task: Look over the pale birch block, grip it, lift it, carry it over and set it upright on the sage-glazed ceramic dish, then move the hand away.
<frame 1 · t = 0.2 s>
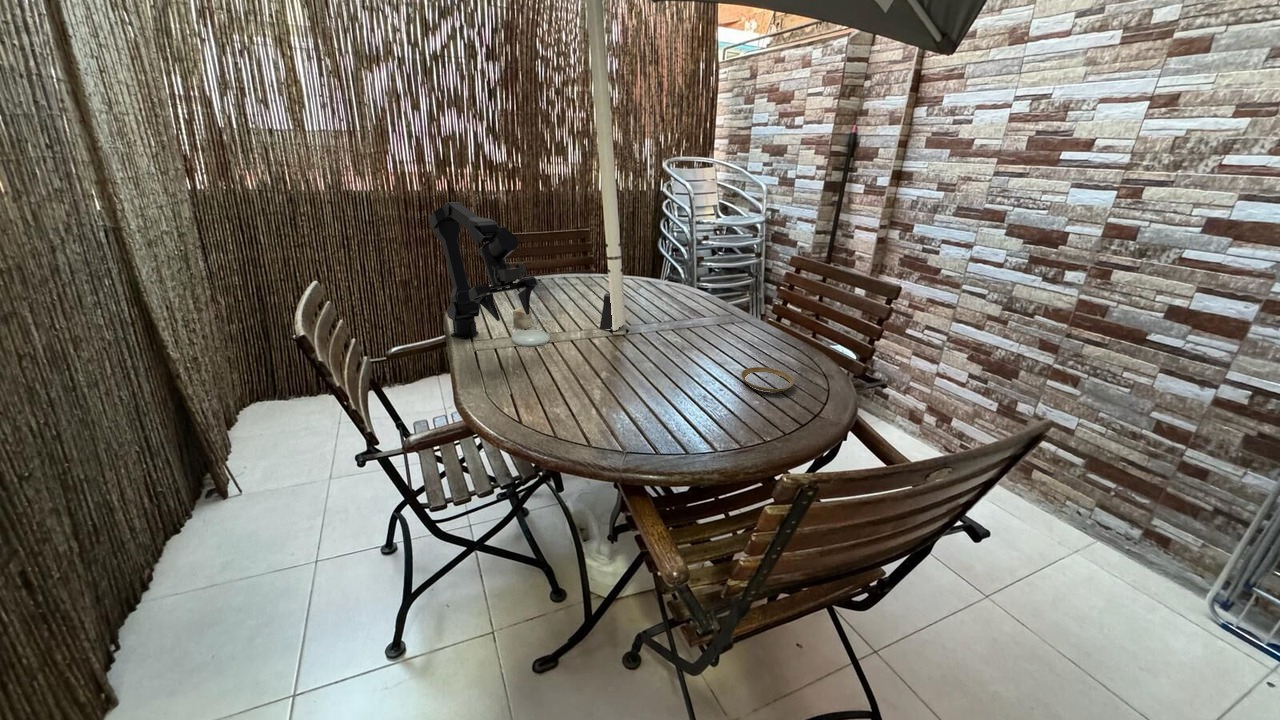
hand: (513, 317, 142), 15 cm above the table, tool tilted 30°, fingers open, 9 cm apart
phone stand: (612, 327, 184), on the table
tan ring: (765, 386, 147), on the table
dish: (530, 339, 168), on the table
birch block: (522, 326, 179), on the table
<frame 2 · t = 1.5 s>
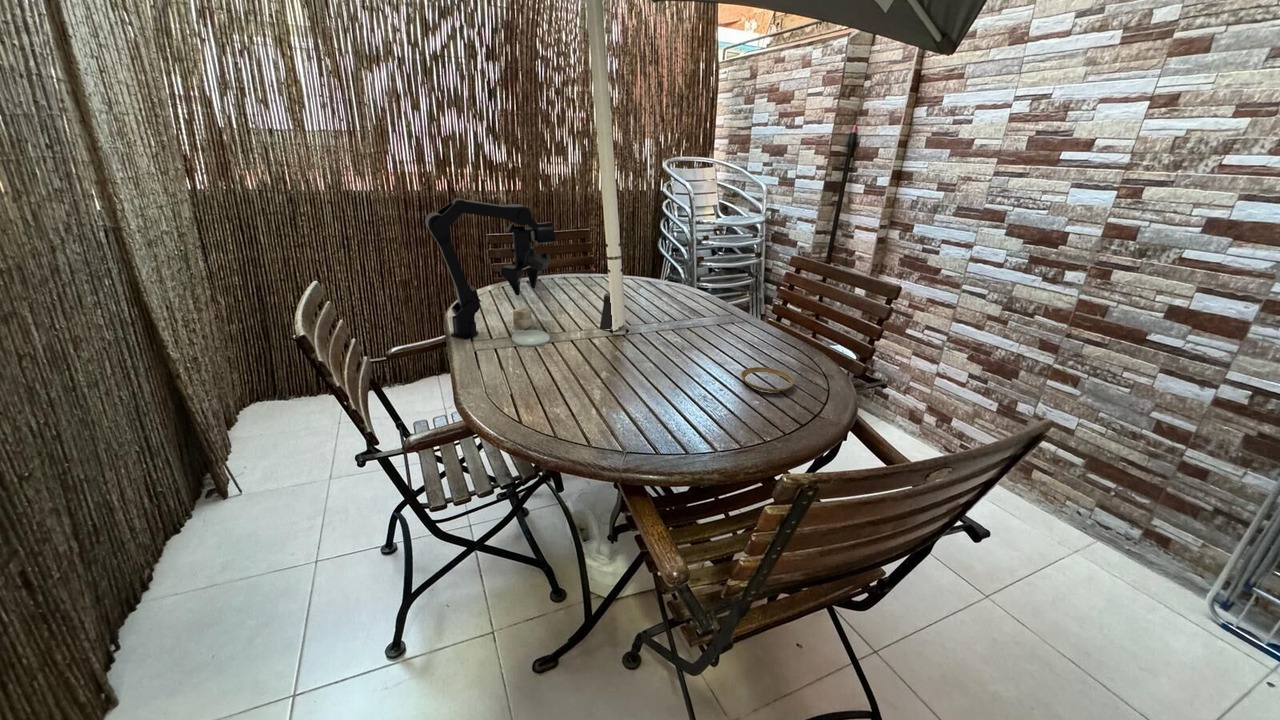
hand: (525, 291, 172), 13 cm above the table, tool pointing down, fingers open, 9 cm apart
nothing on the table moved.
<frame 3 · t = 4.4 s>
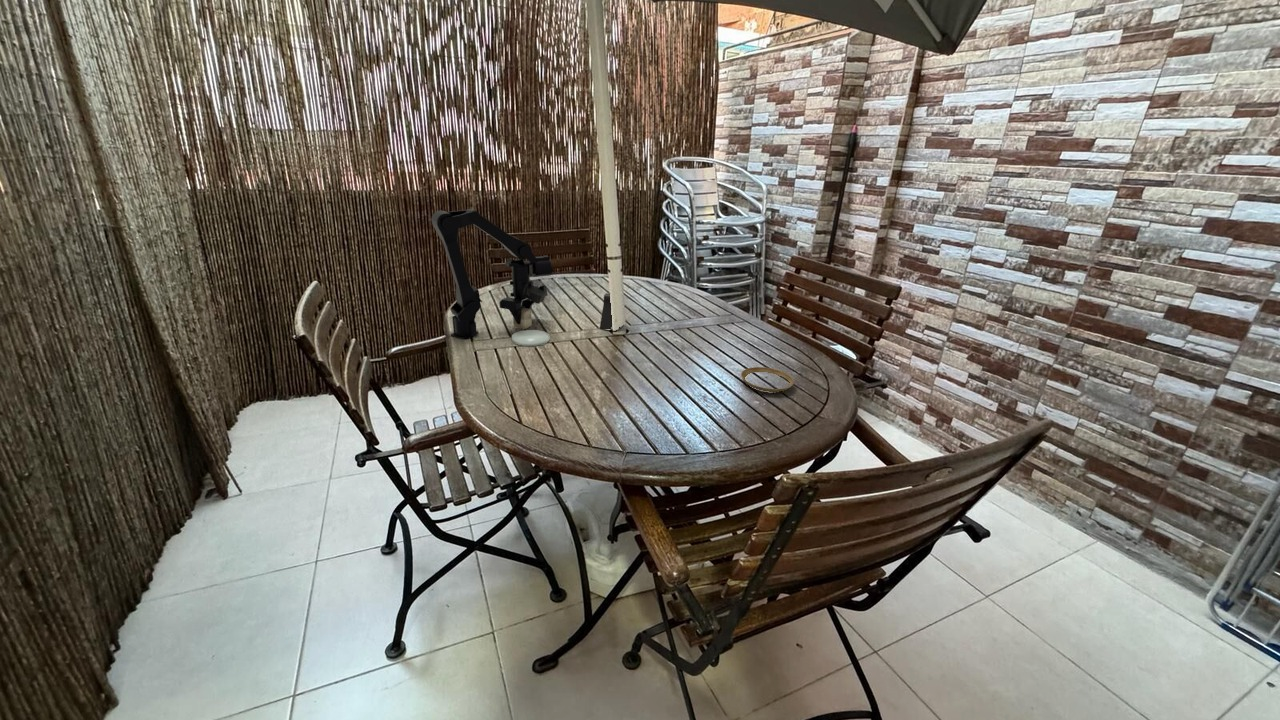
hand: (522, 322, 178), 2 cm above the table, tool pointing down, fingers closed on birch block, 4 cm apart
birch block: (522, 326, 179), on the table, touching gripper
everything else where it was.
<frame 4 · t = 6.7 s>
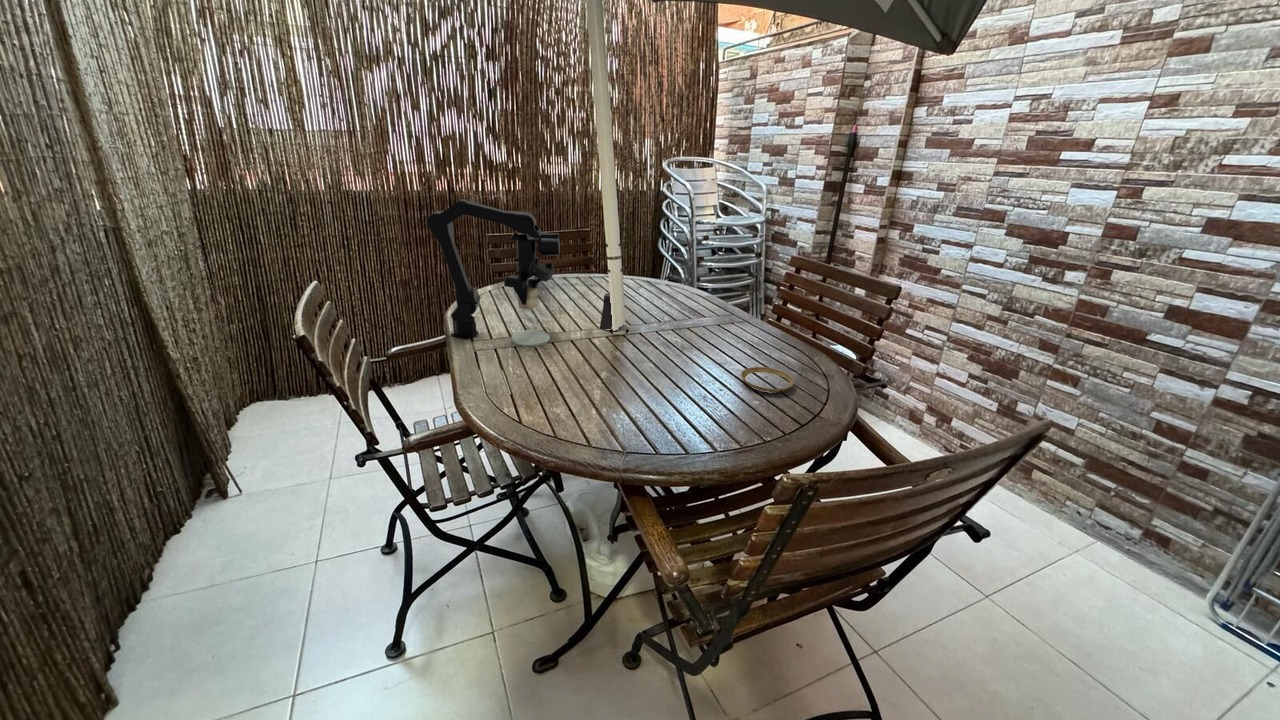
hand: (528, 302, 166), 12 cm above the table, tool pointing down, fingers closed on birch block, 4 cm apart
birch block: (528, 307, 167), point 10 cm above the table, touching gripper
everything else where it was.
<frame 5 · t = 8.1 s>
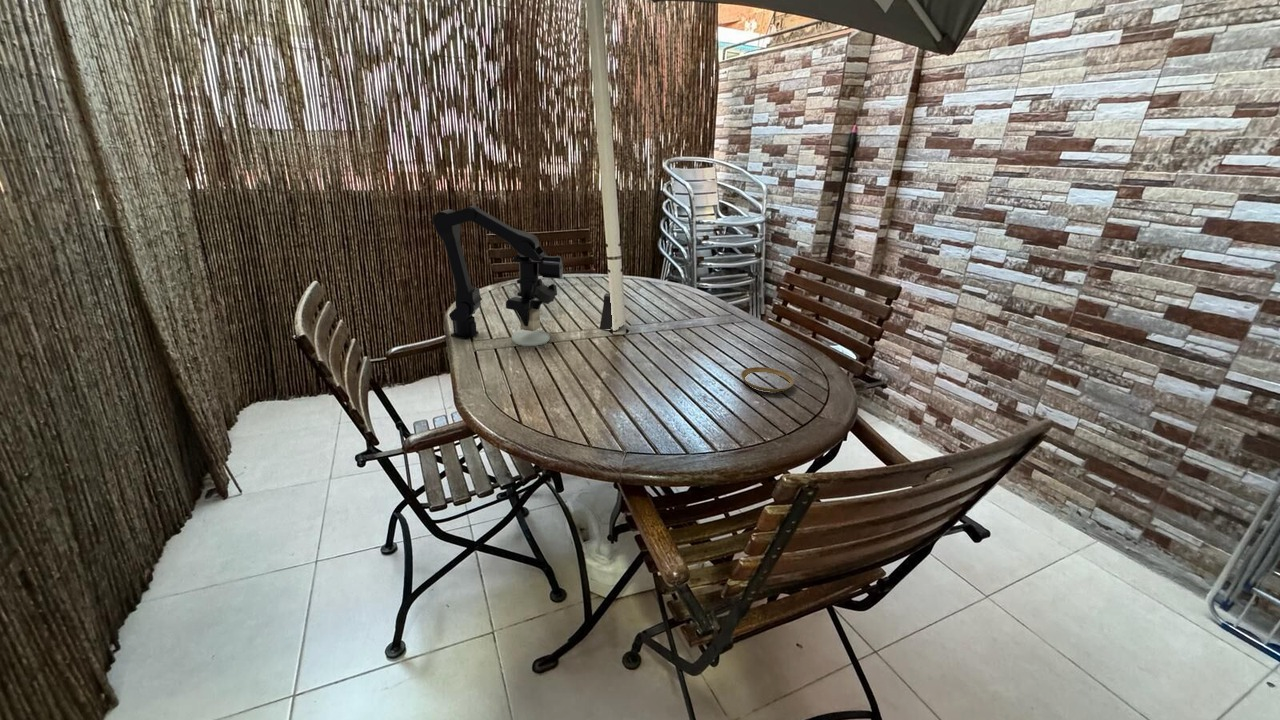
hand: (530, 323, 166), 6 cm above the table, tool pointing down, fingers closed on birch block, 4 cm apart
birch block: (530, 328, 166), point 4 cm above the table, touching gripper
everything else where it was.
when the fingers open (4 cm above the table, at t = 9.1 s): birch block drops 1 cm, resting on dish.
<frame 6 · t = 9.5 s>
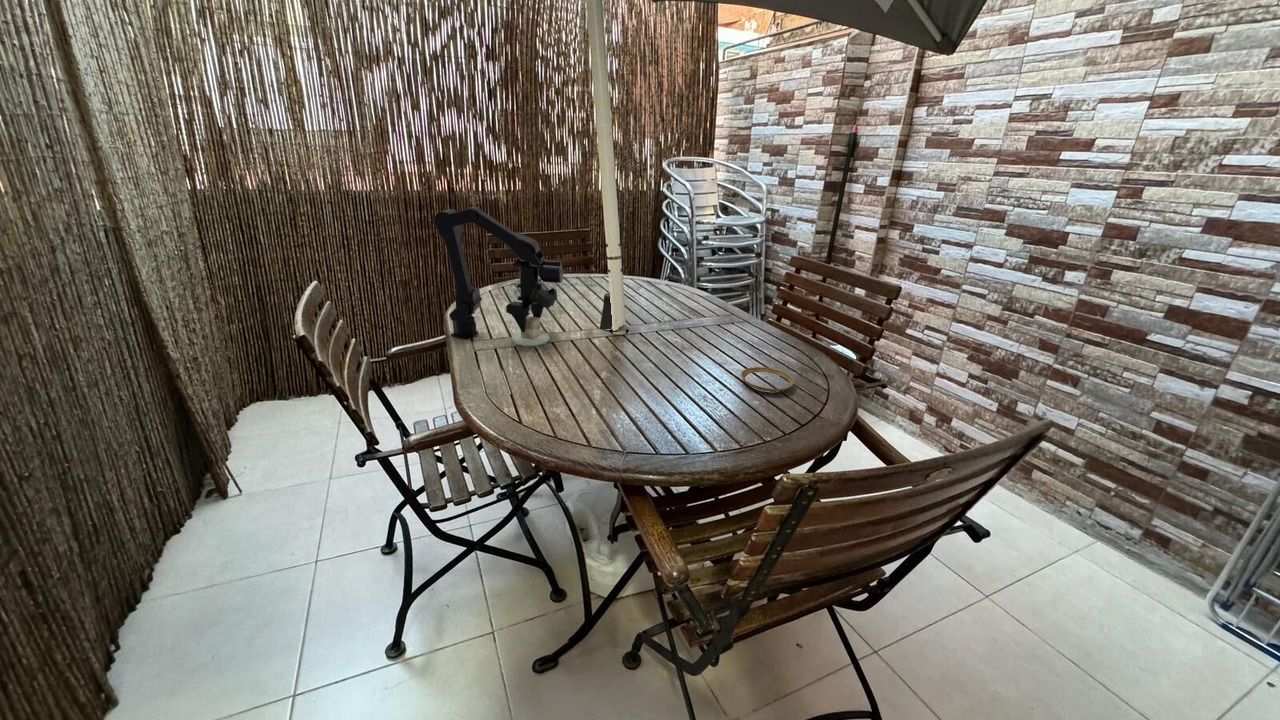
hand: (530, 327, 166), 4 cm above the table, tool pointing down, fingers open, 8 cm apart
birch block: (530, 336, 167), point 1 cm above the table, touching dish
everything else where it was.
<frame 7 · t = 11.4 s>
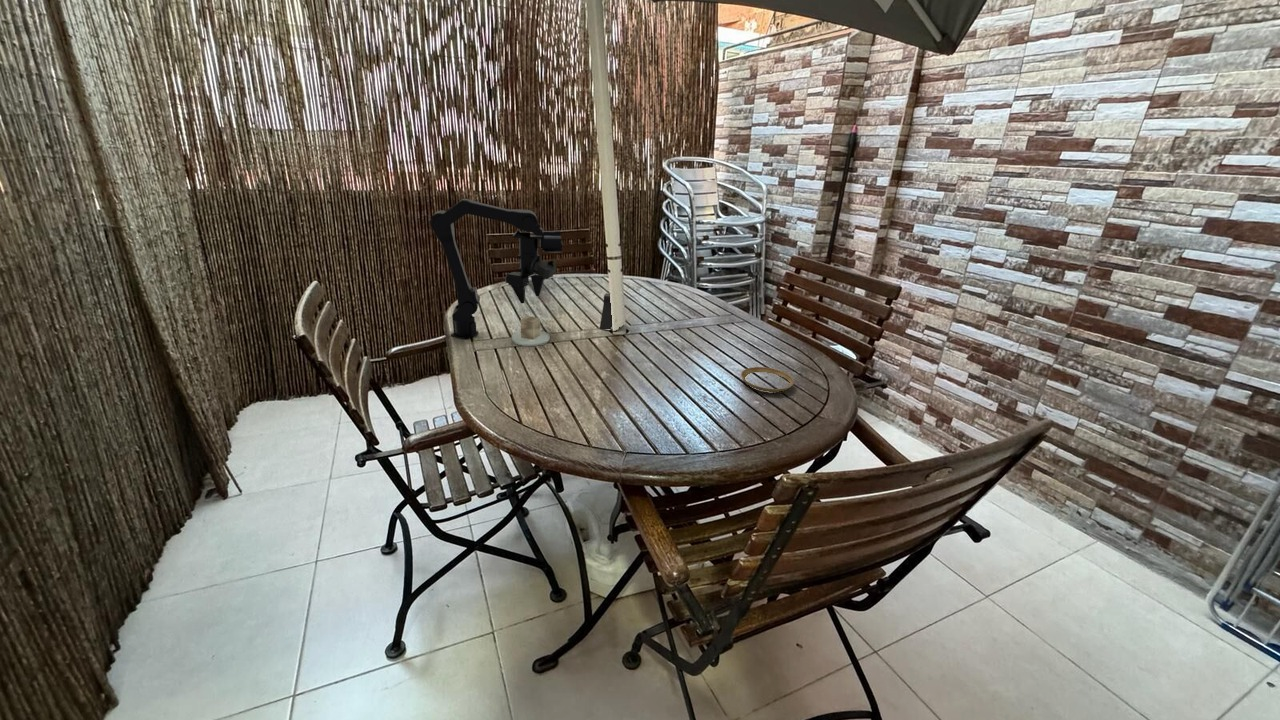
hand: (530, 299, 168), 12 cm above the table, tool pointing down, fingers open, 9 cm apart
nothing on the table moved.
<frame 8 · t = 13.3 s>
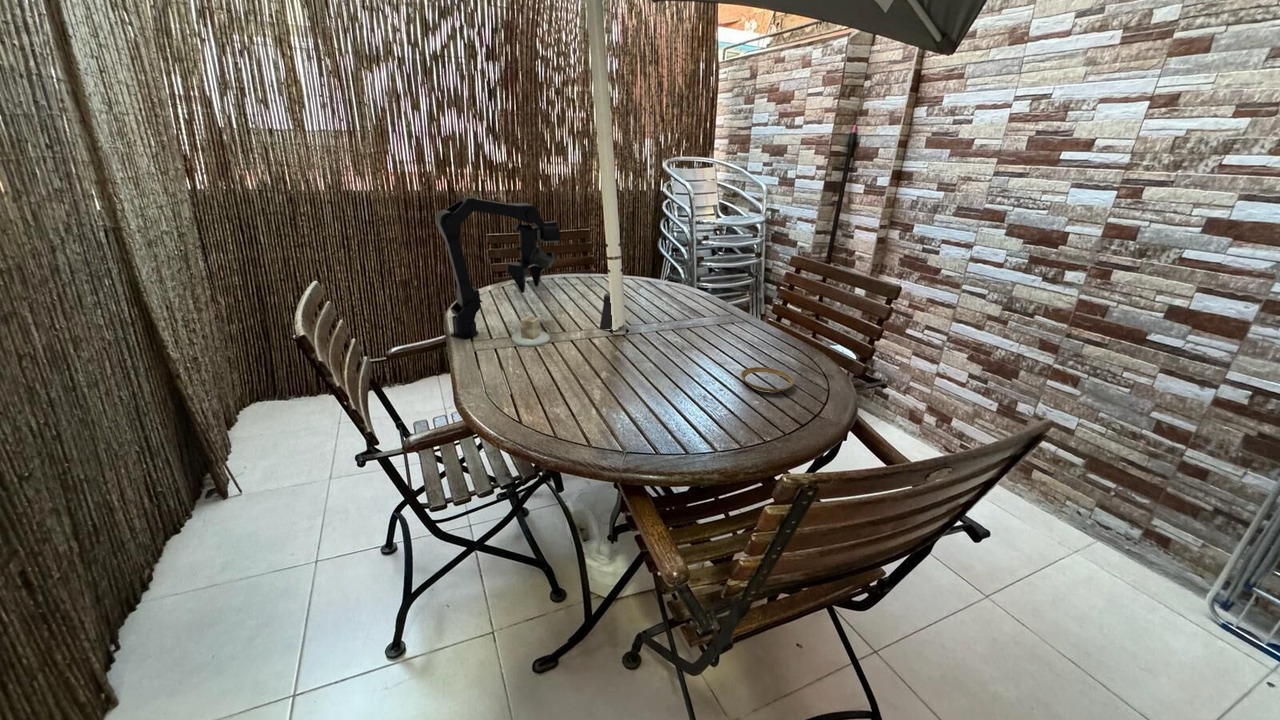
hand: (529, 289, 175), 13 cm above the table, tool pointing down, fingers open, 9 cm apart
nothing on the table moved.
at the end: birch block 0.0 cm off-centre on the dish, point 1.2 cm above the dish's base; birch block tilted 0°; the gripper is holding nothing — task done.
